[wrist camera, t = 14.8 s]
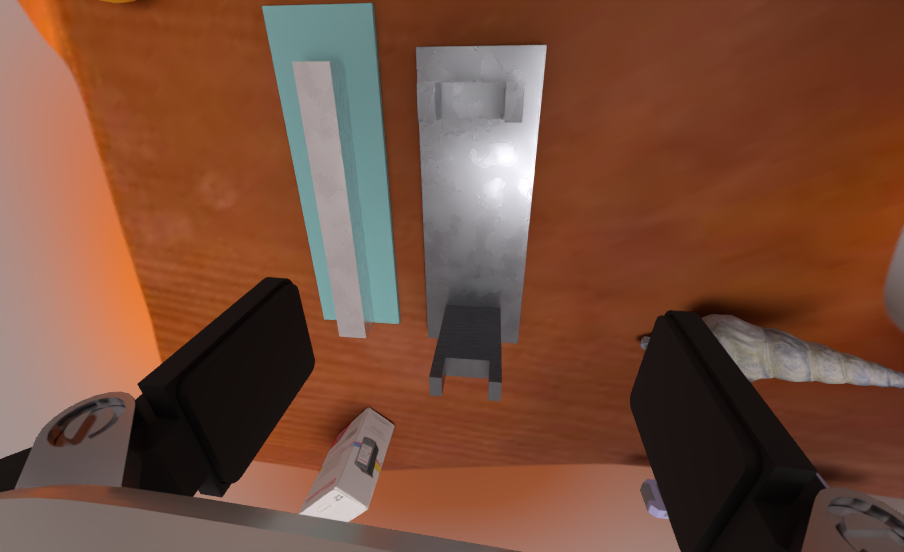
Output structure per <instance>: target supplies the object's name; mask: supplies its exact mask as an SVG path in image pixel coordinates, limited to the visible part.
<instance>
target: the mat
mask: <svg viewBox="0 0 904 552" xmlns="http://www.w3.org/2000/svg"><path fill="white" fill-rule="evenodd" d="M262 9H263V14H264V19H265V24H266V29H267V34H268V39H269V44H270V49H271V54H272V59H273V64H274V69H275V74H276V79H277V84H278V89H279V94H280V99H281V104H282V109H283V114H284V119H285V124H286V129H287V134H288V139H289V144H290V149H291V155H292V160H293V165H294V170H295V175H296V180H297V185H298V190H299V195H300V200H301V205H302V210H303V215H304V220H305V225H306V230H307V235H308V240H309V245H310V250H311V255H312V260H313V265H314V270H315V275H316V280H317V285H318V290H319V295H320V300H321V305H322V310H323V315H324V319H328V320H337V318H336V313H335V307H334V301H333V295H332V290H331V284H330V278H329V272H328V267H327V261H326V255H325V249H324V244H323V238H322V232H321V226H320V221H319V215H318V209H317V203H316V198H315V192H314V186H313V180H312V175H311V169H310V163H309V157H308V152H307V146H306V140H305V134H304V129H303V123H302V117H301V111H300V106H299V100H298V94H297V88H296V83H295V77H294V71H293V65H292V62H301V61H330V62H337V63H344V67H345V75H346V84H347V92H348V101H349V109H350V118H351V127H352V135H353V144H354V152H355V161H356V169H357V178H358V186H359V195H360V204H361V212H362V221H363V229H364V238H365V246H366V255H367V264H368V272H369V281H370V289H371V298H372V306H373V315H374V322H377V323H393V324H399V323H400V310H399V298H398V286H397V274H396V262H395V250H394V238H393V226H392V214H391V202H390V190H389V178H388V166H387V154H386V142H385V130H384V118H383V106H382V94H381V82H380V70H379V58H378V46H377V34H376V22H375V10H374V4H372V3H356V4H320V5H283V6H262Z"/></svg>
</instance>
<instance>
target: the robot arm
mask: <svg viewBox="0 0 904 552" xmlns="http://www.w3.org/2000/svg"><path fill="white" fill-rule="evenodd" d="M314 364H315V358H314V354H313V350H312V345H311V341H310V337H309V333H308V328H307V324H306V320H305V316H304V311H303V307H302V303H301V299H300V295H299V290H298V287H297V286H296V285H294V284H293V283H292V282H291V280H289V279H285V278H273V277H267V278H265V279H263V280H262V281H261V282H260V283H258V284H257V285H256V286H255V287H254V288H252V289H251V290H250V291H249V292H248V293H246V294H245V295H244V296H243V297H242V298H240V299H239V300H238V301H237V302H236V303H234V304H233V305H232V306H231V307H229V308H228V309H227V310H226V311H225V312H223V313H222V314H221V315H220V316H219V317H217V318H216V319H215V320H214V321H213V322H211V323H210V324H209V325H208V326H207V327H205V328H204V329H203V330H202V331H201V332H199V333H198V334H197V335H196V336H195V337H193V338H192V339H191V340H190V341H189V342H187V343H186V344H185V345H184V346H183V347H181V348H180V349H179V350H178V351H176V352H175V353H174V354H173V355H172V356H170V357H169V358H168V359H167V360H166V361H164V362H163V363H162V364H161V365H160V366H158V367H157V368H156V369H155V370H154V371H152V372H151V373H150V374H149V375H148V376H146V377H145V378H144V379H143V380H142V381H140V382H139V383H138V386H139V388H140V390H141V391H142V393H143V394H142V395H140V396H139V397H138V398H137V399H136V400H135V399H134V398H133V396H131V395H130V394H129V393H124V392H109V393H104V394H100V395H96V396H93V397H90V398H88V399H85V400H83V401H80V402H79V403H76V404H75V405H73V406H71V407H69V408H67V409H65V410H64V411H63V412H61V413H60V414H58V415H57V416H55V417H54V418H53V419H52V420H51V421H49V423H47V424H46V425H45V426H44V427H43V429H42V430H41V431H40V433H39V434H38V436H37V437H36V440H35V442H34V445H33V447H31V448H28V449H25V450H23V451H21V452H18V453H15V454H12V455H10V456H7V457H4V458H2V459H0V552H520V551H514V550H508V549H503V548H497V547H492V546H486V545H480V544H474V543H468V542H462V541H456V540H450V539H444V538H439V537H433V536H427V535H421V534H415V533H409V532H403V531H398V530H392V529H385V528H380V527H374V526H368V525H362V524H356V523H350V522H344V521H338V520H332V519H326V518H320V517H314V516H308V515H302V514H295V513H289V512H283V511H277V510H271V509H265V508H259V507H253V506H246V505H241V504H234V503H228V502H222V501H216V500H210V499H204V498H197V497H193V496H194V495H195V493H196V492H197V491H198V490H199V492H200V494H205V495H211V496H217V497H222V496H223V495H224V494H225V492H226V491H227V489H228V488H229V487H230V485H231V484H232V483H235V482H237V481H238V480H239V479H240V478H241V477H242V475H243V474H244V472H245V471H246V469H247V468H248V466H249V465H250V463H251V462H252V460H253V459H254V457H255V456H256V454H257V453H258V451H259V450H260V449H261V447H262V446H263V444H264V443H265V441H266V440H267V438H268V437H269V435H270V434H271V432H272V431H273V429H274V428H275V426H276V425H277V423H278V422H279V420H280V419H281V417H282V416H283V414H284V413H285V411H286V410H287V408H288V407H289V405H290V404H291V402H292V401H293V399H294V398H295V396H296V395H297V393H298V392H299V391H300V389H301V388H302V386H303V385H304V383H305V382H306V380H307V379H308V377H309V376H310V374H311V373H312V371H313V368H314ZM630 406H631V410H632V413H633V416H634V419H635V422H636V424H637V427H638V430H639V433H640V436H641V439H642V442H643V445H644V448H645V450H646V453H647V456H648V459H649V462H650V465H651V468H652V471H653V474H654V476H655V479H656V482H657V485H658V488H659V491H660V494H661V497H662V500H663V503H664V505H665V508H666V511H667V514H668V517H669V520H670V522H671V526H672V528H673V531H674V534H675V537H676V540H677V543H678V545H679V548H680V550H681V552H904V515H903V514H901V513H900V512H898V511H897V510H895V509H893V508H892V507H890V506H888V505H887V504H885V503H884V502H882V501H879V500H877V499H875V498H873V497H871V496H869V495H867V494H864V493H861V492H858V491H855V490H851V489H848V488H839V487H829V488H826V487H825V486H824V484H823V483H822V482H821V480H820V479H819V478H818V476H817V475H816V474H817V472H818V471H817V470H816V469H815V467H814V466H813V465H812V463H811V462H810V461H809V459H808V458H807V457H806V455H805V454H804V453H803V451H802V450H801V449H800V447H799V446H798V445H797V443H796V442H795V441H794V440H793V438H792V437H791V436H790V434H789V433H788V432H787V430H786V429H785V428H784V426H783V425H782V424H781V422H780V421H779V420H778V418H777V417H776V416H775V414H774V413H773V412H772V410H771V409H770V408H769V407H768V405H767V404H766V403H765V401H764V400H763V399H762V397H761V396H760V395H759V393H758V392H757V391H756V389H755V388H754V387H753V385H752V384H751V383H750V381H749V380H748V379H747V378H746V376H745V375H744V374H743V372H742V371H741V370H740V368H739V367H738V366H737V364H736V363H735V362H734V360H733V359H732V358H731V356H730V355H729V354H728V352H727V351H726V350H725V348H724V347H723V346H722V345H721V343H720V342H719V341H718V339H717V338H716V337H715V335H714V334H713V333H712V331H711V330H710V329H709V327H708V326H707V325H706V323H705V322H704V321H703V319H702V318H701V317H700V316H699V315H698V314H697V313H695V312H685V311H672V310H670V311H667V312H666V314H665V315H664V316H659V317H658V318H657V320H656V322H655V325H654V328H653V331H652V334H651V337H650V340H649V342H648V345H647V348H646V351H645V354H644V357H643V360H642V363H641V366H640V369H639V372H638V374H637V377H636V380H635V383H634V386H633V389H632V392H631V396H630Z"/></svg>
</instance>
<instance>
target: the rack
mask: <svg viewBox="0 0 904 552" xmlns="http://www.w3.org/2000/svg"><path fill="white" fill-rule="evenodd" d="M546 48H547V45H516V46H450V47H416V60H417V82H416V84H417V107H418V122H419V131H420V155H421V179H422V202H423V226H424V250H425V274H426V297H427V321H428V338H438V342H437V346H436V350H435V355H434V359H433V363H432V367H431V372H430V376H429V384H430V395H431V396H442V393H443V387H444V382H445V376H446V375H449V376H462V377H475V378H489V382H488V400H493V401H500V398H501V385H502V368H501V342H504V343H517V342H518V332H519V322H520V312H521V302H522V292H523V282H524V271H525V261H526V251H527V241H528V231H529V221H530V211H531V200H532V190H533V180H534V170H535V160H536V150H537V140H538V129H539V119H540V109H541V99H542V89H543V79H544V69H545V58H546Z"/></svg>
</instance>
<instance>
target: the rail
mask: <svg viewBox="0 0 904 552" xmlns="http://www.w3.org/2000/svg"><path fill="white" fill-rule="evenodd" d="M292 65H293V71H294V77H295V83H296V88H297V94H298V100H299V106H300V111H301V117H302V123H303V129H304V134H305V140H306V146H307V152H308V157H309V163H310V169H311V175H312V180H313V186H314V192H315V198H316V203H317V209H318V215H319V221H320V226H321V232H322V238H323V244H324V249H325V255H326V261H327V267H328V272H329V278H330V284H331V290H332V295H333V301H334V307H335V313H336V318H337V324H338V330H339V336H343V337H357V338H367V336H368V334H369V332H370V330H371V328H372V326H373V324H374V315H373V306H372V298H371V289H370V281H369V272H368V264H367V255H366V246H365V238H364V229H363V221H362V212H361V204H360V195H359V186H358V178H357V169H356V161H355V152H354V144H353V135H352V127H351V118H350V109H349V101H348V92H347V84H346V75H345V67H344V63H337V62H330V61H301V62H292Z"/></svg>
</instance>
